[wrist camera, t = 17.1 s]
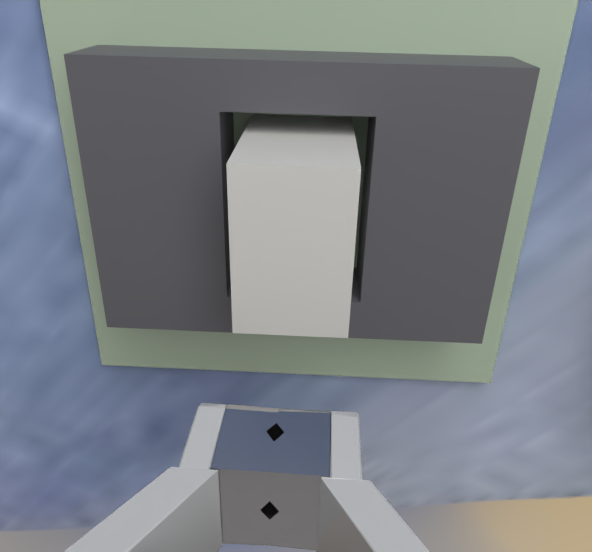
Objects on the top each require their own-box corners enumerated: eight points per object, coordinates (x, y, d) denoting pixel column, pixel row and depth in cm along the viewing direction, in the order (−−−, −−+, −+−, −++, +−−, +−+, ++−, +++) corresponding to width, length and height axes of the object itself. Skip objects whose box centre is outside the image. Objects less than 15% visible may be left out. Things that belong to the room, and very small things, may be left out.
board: (587, -80, 20) (644, -93, 16) (486, 373, 29) (508, 427, 26) (33, -92, 21) (-27, -106, 17) (106, 355, 30) (77, 406, 26)
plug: (351, 117, 23) (361, 168, 17) (342, 251, 26) (348, 338, 19) (253, 114, 23) (226, 163, 17) (255, 248, 26) (232, 333, 20)
